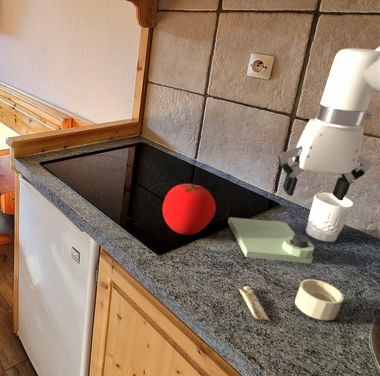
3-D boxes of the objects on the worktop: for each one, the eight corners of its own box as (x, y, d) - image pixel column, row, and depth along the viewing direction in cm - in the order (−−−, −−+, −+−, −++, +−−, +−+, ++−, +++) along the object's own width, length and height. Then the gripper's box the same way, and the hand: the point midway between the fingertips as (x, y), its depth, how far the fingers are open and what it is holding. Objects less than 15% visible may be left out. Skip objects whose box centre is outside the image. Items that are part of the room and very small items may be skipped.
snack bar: (272, 320, 73) (257, 315, 73) (267, 326, 74) (252, 321, 73) (251, 286, 81) (238, 281, 81) (247, 291, 82) (234, 286, 82)
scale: (286, 228, 105) (289, 216, 103) (314, 265, 90) (319, 252, 89) (227, 222, 107) (230, 211, 105) (246, 258, 92) (249, 245, 90)
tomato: (158, 237, 99) (166, 191, 94) (160, 215, 109) (167, 172, 104) (211, 246, 96) (222, 199, 91) (208, 223, 106) (218, 179, 101)
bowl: (325, 299, 80) (332, 281, 78) (342, 324, 73) (351, 305, 72) (288, 295, 80) (294, 277, 79) (302, 320, 74) (310, 300, 72)
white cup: (343, 245, 98) (358, 209, 93) (306, 239, 100) (319, 203, 96) (334, 230, 104) (347, 195, 100) (299, 224, 107) (311, 190, 102)
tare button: (303, 242, 93) (305, 235, 92) (308, 249, 90) (311, 242, 90) (289, 240, 93) (291, 234, 93) (294, 247, 91) (296, 241, 90)
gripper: (378, 114, 80) (348, 192, 88) (284, 108, 83) (263, 184, 90) (401, 124, 74) (366, 207, 81) (298, 117, 76) (274, 198, 84)
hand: (312, 195), depth 86 cm, fingers open, 9 cm apart
